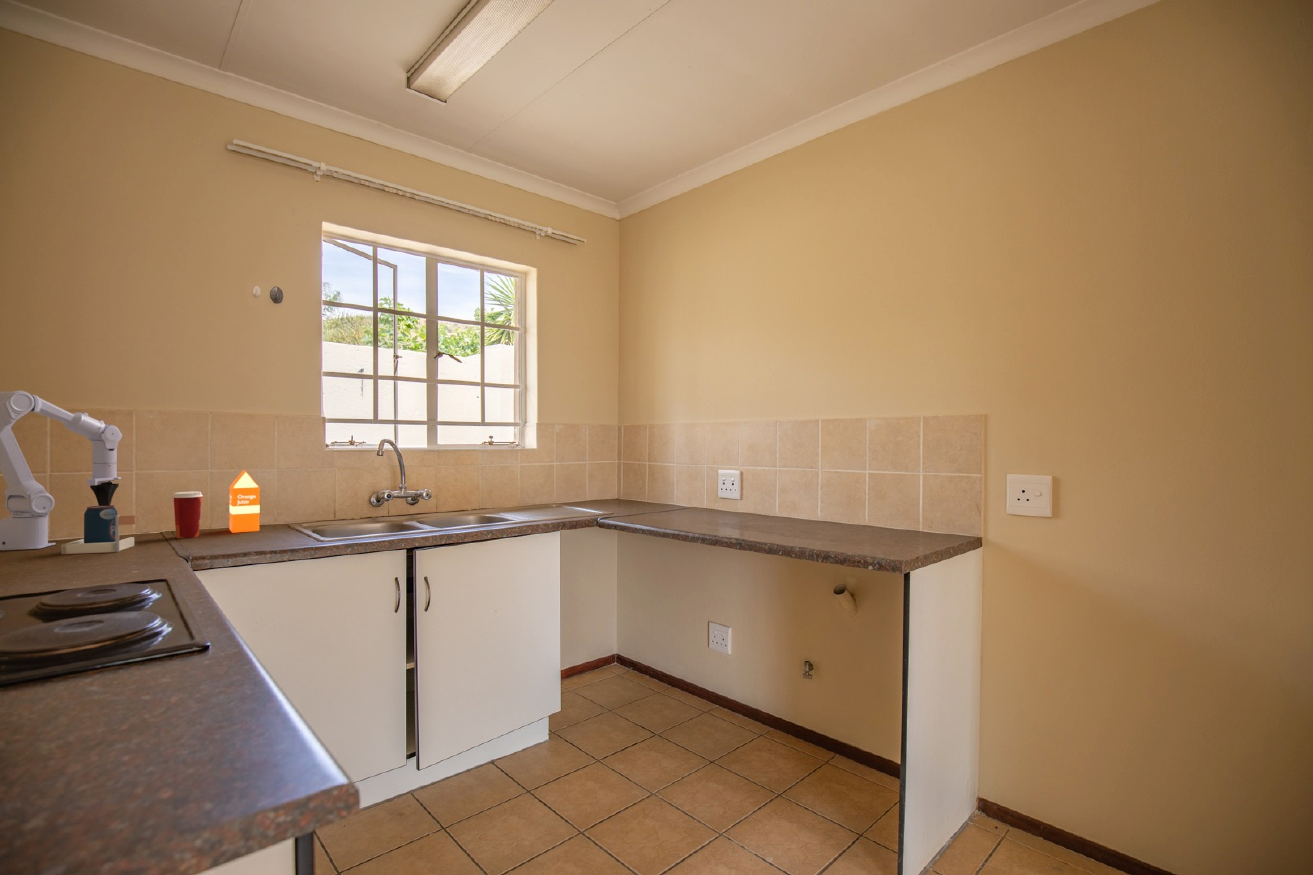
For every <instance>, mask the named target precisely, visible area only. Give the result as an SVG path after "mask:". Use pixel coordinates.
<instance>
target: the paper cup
mask: <svg viewBox="0 0 1313 875" xmlns="http://www.w3.org/2000/svg"><path fill="white" fill-rule="evenodd" d="M203 496H204V495H202V491H179V492H174V493H173V496H172V498H173V510H174V513H173V514H174V524H175V537H176V539H183V540H184V539H192V538H198V537H199V535H200V525H201V510H202V497H203Z"/></svg>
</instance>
